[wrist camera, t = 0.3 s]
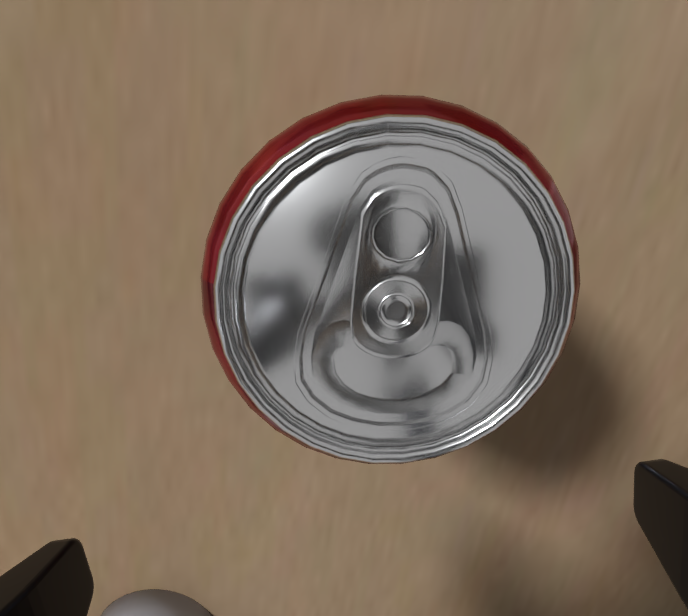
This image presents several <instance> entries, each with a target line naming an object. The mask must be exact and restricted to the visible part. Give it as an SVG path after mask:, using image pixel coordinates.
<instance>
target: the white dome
mask: <svg viewBox="0 0 688 616" xmlns="http://www.w3.org/2000/svg"><path fill="white" fill-rule="evenodd" d="M101 616H211V615H210V613H209V612H208V611H207V610H206V609H205V608H204V607H203V606H202V605H200V604H199V603H198V602H196V601H195V600H193V599H191V598H189V597H187V596H185V595H183V594H179V593H176V592H172V591H168V590H159V589H150V590H141V591H136V592H133V593H130V594H127V595H124V596H122V597H120V598H118V599H117V600H115V601H114V602H112V603H111V604H110V605H109V606H108V607H107V608H106V609H105V610H104V611H103V613H102V614H101Z"/></svg>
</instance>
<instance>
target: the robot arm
mask: <svg viewBox="0 0 688 616" xmlns="http://www.w3.org/2000/svg"><path fill="white" fill-rule="evenodd" d="M634 512H635V515H636V518H637V521H638V523H639V525H640V526H641V528H642V530H643V532H644V534H645V535H646V537H647V539H648V541H649V542H650V544H651V546H652V548H653V549H654V551H655V553H656V555H657V557H658V558H659V560H660V562H661V564H662V565H663V567H664V569H665V571H666V573H667V574H668V576H669V578H670V580H671V581H672V583H673V585H674V587H675V589H676V590H677V592H678V594H679V596H680V597H681V599H682V601H683V602H684V604H685V606H686V607H687V609H688V468H686V467H683V466H680V465H678V464H675V463H673V462H670V461H667V460H664V459H658V460H651V461H644V462H639V463H638V464H637V465H636V467H635V472H634ZM93 589H94V583H93V577H92V574H91V571H90V568H89V565H88V561H87V558H86V555H85V552H84V549H83V546H82V544H81V542H80V541H79V540H78V539H75V538H71V539H64V540H56V541H52V542H49V543H48V544H46V545H45V546H43V547H42V548H40V549H39V550H38V551H36V552H35V553H33V554H32V555H30V556H29V557H28V558H26V559H25V560H23V561H22V562H20V563H19V564H17V565H16V566H15V567H13V568H12V569H10V570H9V571H7V572H6V573H5V574H3V575H2V576H0V616H87V613H88V610H89V606H90V603H91V600H92V596H93Z"/></svg>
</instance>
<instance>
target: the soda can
mask: <svg viewBox="0 0 688 616" xmlns="http://www.w3.org/2000/svg"><path fill="white" fill-rule="evenodd" d="M579 287H580V273H579V254H578V245H577V241H576V237H575V234H574V230H573V226H572V222H571V218H570V215H569V211H568V208H567V206H566V204H565V202H564V200H563V198H562V196H561V194H560V192H559V190H558V188H557V186H556V184H555V182H554V180H553V178H552V176H551V175H550V174H549V173H548V171H547V170H546V169H545V168H544V167H543V165H542V164H541V163H540V162H539V160H538V159H537V158H536V157H535V156H534V154H533V153H532V152H531V151H530V149H529V148H528V147H527V146H526V145H524V144H523V143H522V142H521V141H519V140H518V139H517V138H516V137H514V136H513V135H512V134H511V133H509V132H508V131H507V130H506V129H504V128H503V127H502V126H500V125H499V124H498V123H496V122H494V121H492V120H490V119H488V118H486V117H484V116H482V115H480V114H478V113H476V112H474V111H472V110H470V109H468V108H466V107H464V106H462V105H458V104H453V103H449V102H445V101H441V100H437V99H433V98H429V97H425V96H406V95H378V96H372V97H367V98H362V99H356V100H351V101H346V102H341V103H338V104H336V105H333V106H331V107H328V108H326V109H324V110H321V111H319V112H316V113H314V114H311V115H309V116H307V117H304V118H302V119H301V120H299V121H298V122H296V123H295V124H293V125H292V126H290V127H289V128H287V129H286V130H284V131H283V132H282V133H280V134H279V135H277V136H276V137H274V138H273V139H271V140H270V141H268V143H267V144H266V145H265V146H264V147H263V148H262V149H261V150H260V151H259V152H258V153H257V154H256V155H255V156H254V157H253V158H252V159H251V160H250V161H249V162H248V163H247V164H246V165H245V166H244V167H243V168H242V169H241V171H240V172H239V174H238V175H237V177H236V179H235V180H234V182H233V183H232V185H231V187H230V188H229V190H228V191H227V193H226V194H225V196H224V198H223V199H222V201H221V202H220V204H219V207H218V210H217V212H216V215H215V218H214V220H213V223H212V226H211V228H210V231H209V234H208V237H207V239H206V245H205V252H204V259H203V265H202V272H201V289H202V307H203V315H204V319H205V323H206V327H207V330H208V334H209V338H210V342H211V345H212V348H213V350H214V352H215V354H216V356H217V358H218V360H219V362H220V364H221V366H222V368H223V370H224V372H225V374H226V376H227V378H228V380H229V381H230V382H231V384H232V385H233V386H234V388H235V389H236V390H237V391H238V393H239V394H240V395H241V397H242V398H243V399H244V400H245V402H246V403H247V404H248V406H249V407H250V408H251V409H252V410H253V411H254V412H256V413H257V414H258V415H259V416H260V417H261V418H262V419H264V420H265V421H266V422H267V423H268V424H269V425H270V426H272V427H273V428H274V429H275V430H277V431H278V432H280V433H282V434H283V435H285V436H287V437H289V438H290V439H292V440H294V441H295V442H297V443H299V444H300V445H302V446H304V447H306V448H309V449H312V450H315V451H317V452H320V453H323V454H326V455H328V456H331V457H334V458H338V459H344V460H350V461H355V462H361V463H367V464H403V463H408V462H414V461H420V460H425V459H431V458H436V457H439V456H441V455H444V454H447V453H450V452H453V451H455V450H458V449H461V448H464V447H466V446H468V445H470V444H472V443H474V442H475V441H477V440H479V439H481V438H483V437H484V436H486V435H488V434H490V433H491V432H493V431H495V430H497V429H498V428H499V427H500V426H502V425H503V424H504V423H505V422H506V421H508V420H509V419H510V418H511V417H512V416H514V415H515V414H516V413H517V412H519V411H520V410H521V409H522V408H523V407H524V406H525V405H526V404H527V403H528V401H529V400H530V399H531V398H532V397H533V396H534V394H535V393H536V392H537V391H538V390H539V389H540V387H541V386H542V385H543V384H544V383H545V382H546V380H547V378H548V376H549V375H550V373H551V371H552V370H553V368H554V366H555V364H556V363H557V361H558V359H559V358H560V356H561V354H562V352H563V350H564V347H565V345H566V342H567V339H568V336H569V333H570V331H571V328H572V325H573V322H574V319H575V314H576V307H577V300H578V294H579Z"/></svg>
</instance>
